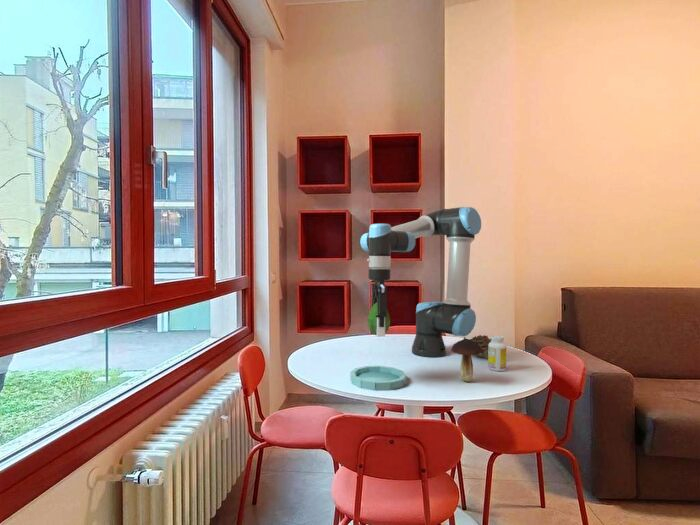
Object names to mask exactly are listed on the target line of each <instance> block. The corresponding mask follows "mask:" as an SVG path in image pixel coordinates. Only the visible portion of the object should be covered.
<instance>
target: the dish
mask: <svg viewBox="0 0 700 525" xmlns="http://www.w3.org/2000/svg"><path fill="white" fill-rule="evenodd" d="M349 381H350V382H351V383H350V384H352V385H353V386H355V385H356V387H358V388H360V389H364V388H366V389H365V390H370V389H371V390H370V391H392V390H396V389H397V390H398V389H400V388H403V387H404V386H405V385H406V383H407V374H406V373H405V372H404V371H403V370H401V369H399V368H395V367H391V366H385V365H366V366H365V365H364V366H359V367H356V368H354V369H351V371H350V373H349Z"/></svg>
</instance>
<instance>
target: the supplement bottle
mask: <svg viewBox="0 0 700 525" xmlns="http://www.w3.org/2000/svg"><path fill="white" fill-rule="evenodd" d="M490 339H491V341H492V342H490V343H489V344H488V357H487V368H488V369H489V370H490V371H494V372H505V371H507V348H508V347H507V344H506V343H504V340H505V336H503V335H491V336H490Z"/></svg>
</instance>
